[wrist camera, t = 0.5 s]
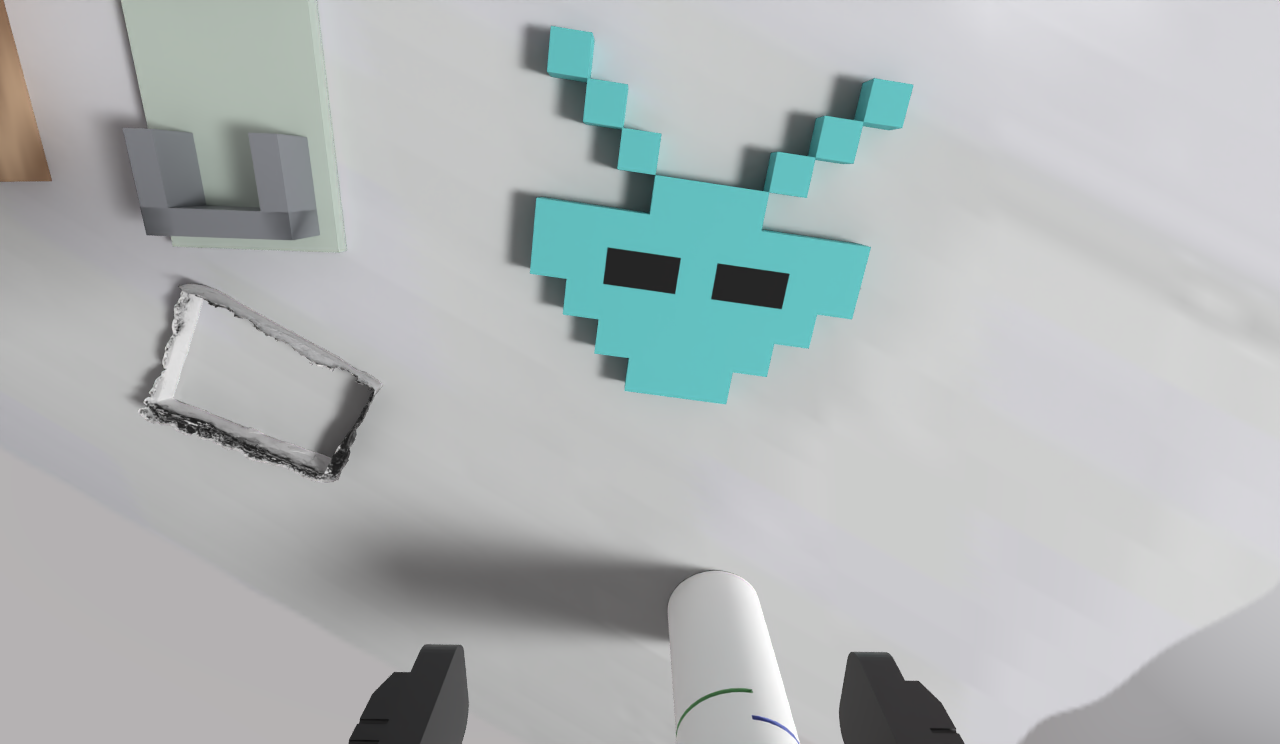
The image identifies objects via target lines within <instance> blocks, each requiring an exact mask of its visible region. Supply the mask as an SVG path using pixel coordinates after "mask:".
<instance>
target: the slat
mask: <svg viewBox="0 0 1280 744" xmlns="http://www.w3.org/2000/svg"><path fill="white" fill-rule="evenodd" d="M14 181H52V179H51V175H50V172H49V168H48V164H47V161H46V157H45V153H44V149H43V146H42V142H41V138H40V135H39V131H38V127H37V123H36V120H35V116H34V112H33V108H32V105H31V101H30V97H29V94H28V90H27V86H26V82H25V79H24V75H23V71H22V68H21V64H20V60H19V56H18V53H17V49H16V45H15V41H14V38H13V34H12V30H11V27H10V23H9V19H8V15H7V12H6V8H5V4H4V1H3V0H0V182H14Z"/></svg>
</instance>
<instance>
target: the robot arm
mask: <svg viewBox="0 0 1280 744" xmlns="http://www.w3.org/2000/svg"><path fill="white" fill-rule="evenodd" d="M468 707H469V701H468V689H467V679H466V668H465V658H464V650H463V647H462V645H432V644H426V645H424V646H423V647H422V649H421V650H420V652H419V655H418V657H417V659H416V661H415V663H414V666H413V668H412V670H411V672H394V673H393V674H392V675H391V676H390V677H389V678H388V679H387V680H386V681H385V682H384V683H383V684H382V685H381V686H380V687H379V688H378V689H377V690H376V691H375V692H374V693H373V694H372V696H371V698H370V700H369V702H368V704H367V706H366V708H365V710H364V712H363V714H362V716H361V718H360V722H359V724H357V726H356V727H355V729H354V731H353V733H352V735H351V737H350V739H349V744H462V741H463V737H464V733H465V730H466V725H467V718H468ZM839 720H840V728H841V733H842V738H843V741H844V744H964V742H963V740H962V738H961V737H960V735H959V734H957V733H956V728H955V726H954V724H953V723H952V721H951V719H950V717H949V716H948V714H947V712H946V710H945V709H944V707H943V705H942V703H941V702H940V701H939V700H938V699H937V698H936V697H935V696H934V695H933V694H932V693H931V692H929V691H928V690H927V689H926V688H925V687H924V686H923V685H922V684H921V683H920V682H919V681H905V680H904V678H903V676H902V674H901V672H900V670H899V668H898V667H897V665H896V663H895V661H894V659H893V657H892V656H891V655H890V654H889V653H887V652H851V653H850V654H849V656H848V659H847V665H846V671H845V677H844V683H843V688H842V694H841V700H840V707H839Z"/></svg>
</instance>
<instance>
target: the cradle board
mask: <svg viewBox="0 0 1280 744" xmlns="http://www.w3.org/2000/svg"><path fill="white" fill-rule="evenodd" d="M121 4H122V8H123V13H124V18H125V22H126V27H127V32H128V37H129V41H130V46H131V51H132V56H133V60H134V65H135V70H136V75H137V79H138V84H139V89H140V93H141V98H142V103H143V108H144V112H145V117H146V122H147V127H148V129H158V130H169V131H179V132H189V133H193V137H194V142H195V148H196V153H197V158H198V164H199V169H200V174H201V179H202V185H203V190H204V195H205V200H206V205H209V206H236V207H260V204H259V198H258V192H257V185H256V179H255V173H254V167H253V161H252V155H251V148H250V142H249V136H248V133H270V134H283V135H292V136H300V137H307V139H308V147H309V154H310V162H311V169H312V177H313V185H314V192H315V200H316V207H317V215H318V222H319V230H320V235H319V236H314V237H308V238H303V239H298V240H266V239H239V238H212V237H184V236H171V240H172V245H173V247H197V248H224V249H252V250H280V251H307V252H335V253H340V252H343V251H347V249H346V241H345V232H344V224H343V216H342V207H341V199H340V190H339V182H338V174H337V165H336V157H335V149H334V140H333V132H332V124H331V115H330V107H329V98H328V90H327V82H326V73H325V65H324V57H323V48H322V40H321V32H320V23H319V15H318V6H317V0H121Z"/></svg>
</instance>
